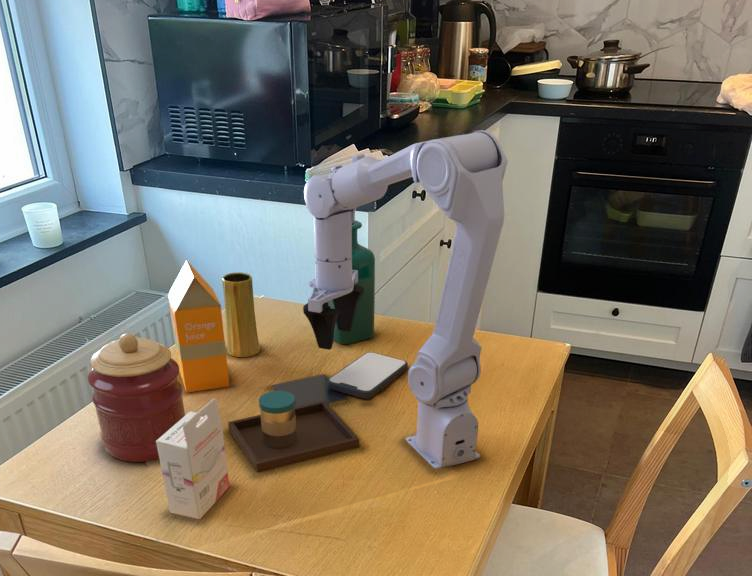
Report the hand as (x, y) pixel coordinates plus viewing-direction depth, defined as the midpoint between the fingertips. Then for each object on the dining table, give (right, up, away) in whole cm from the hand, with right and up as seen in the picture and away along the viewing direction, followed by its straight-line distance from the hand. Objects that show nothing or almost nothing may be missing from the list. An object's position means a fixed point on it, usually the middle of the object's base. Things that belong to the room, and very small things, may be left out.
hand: (335, 338), depth 126 cm
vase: (-18, +2, +20) cm, 27 cm away
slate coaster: (-5, -8, +6) cm, 11 cm away
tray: (-6, -17, -7) cm, 19 cm away
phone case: (+5, -5, +10) cm, 13 cm away
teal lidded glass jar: (-8, -17, -7) cm, 20 cm away
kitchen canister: (-29, -17, -7) cm, 34 cm away
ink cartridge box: (-18, -27, -20) cm, 38 cm away
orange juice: (-24, -5, +11) cm, 26 cm away
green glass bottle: (+1, +6, +27) cm, 28 cm away
